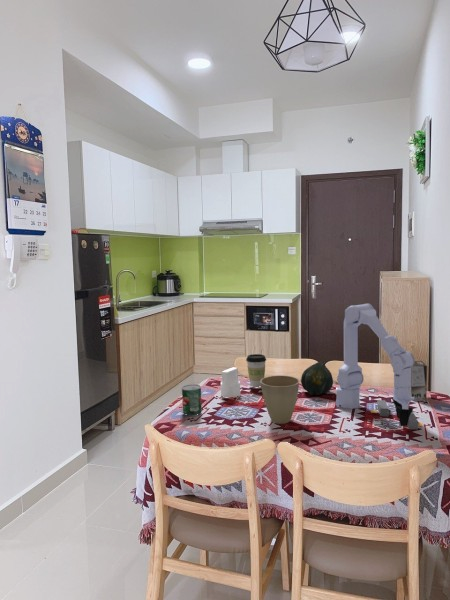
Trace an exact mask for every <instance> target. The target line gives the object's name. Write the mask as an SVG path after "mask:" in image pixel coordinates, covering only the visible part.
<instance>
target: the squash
mask: <svg viewBox="0 0 450 600" xmlns="http://www.w3.org/2000/svg"><path fill="white" fill-rule="evenodd" d="M300 384H301V387H302V388H303V390H305V392H306V393H307V394H308V395H311V396H313V395H317V396H319V395H321V394H327V393H328V392H330V390H331V389H332V388H333V384H334V380H333V375H332V373H331V371H330V369H329V368H328V367H327V366H326V365H325V363H324V362H323V361H318V362H315V363H314V364H311V365H310V366H309V367H307V368H306V369H305V370H304V371H303V372H302V374H301V377H300Z"/></svg>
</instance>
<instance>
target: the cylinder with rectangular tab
mask: <svg viewBox="0 0 450 600" xmlns="http://www.w3.org/2000/svg"><path fill="white" fill-rule="evenodd" d="M221 395H222V396H224V397H236V398H238V397H237V396H239V395H240V396H241V381H240V380H239V371H238V367H234V366H233V367H230V368H227V369H225V370H223V371H221V381H220V396H221ZM222 396H221V397H222ZM240 396H239V397H240ZM224 397H223V398H224Z"/></svg>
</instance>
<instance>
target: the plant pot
mask: <svg viewBox="0 0 450 600" xmlns="http://www.w3.org/2000/svg"><path fill="white" fill-rule="evenodd" d="M260 382H261V393H262V396H263V401H264V404H265V407H266V410H267V413H268V415H269V419H270V420H271V422H272V423H274V424H279V425H284V424H288V423H289V422H291V420H292V417H293V414H294V412H295V408H296V404H297V401H298V400H297V399H298V395H299V386H300V379H299V378H297V377H295V376H290V375H281V374H279V375H270V376H266V377H265V376H264V378H263V379H261V381H260Z"/></svg>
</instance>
